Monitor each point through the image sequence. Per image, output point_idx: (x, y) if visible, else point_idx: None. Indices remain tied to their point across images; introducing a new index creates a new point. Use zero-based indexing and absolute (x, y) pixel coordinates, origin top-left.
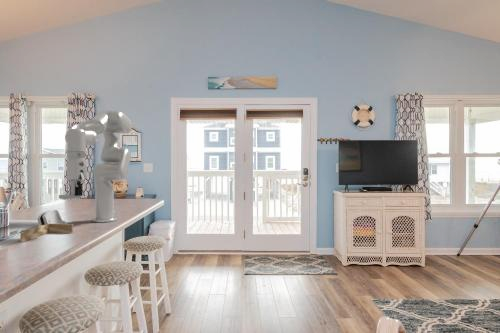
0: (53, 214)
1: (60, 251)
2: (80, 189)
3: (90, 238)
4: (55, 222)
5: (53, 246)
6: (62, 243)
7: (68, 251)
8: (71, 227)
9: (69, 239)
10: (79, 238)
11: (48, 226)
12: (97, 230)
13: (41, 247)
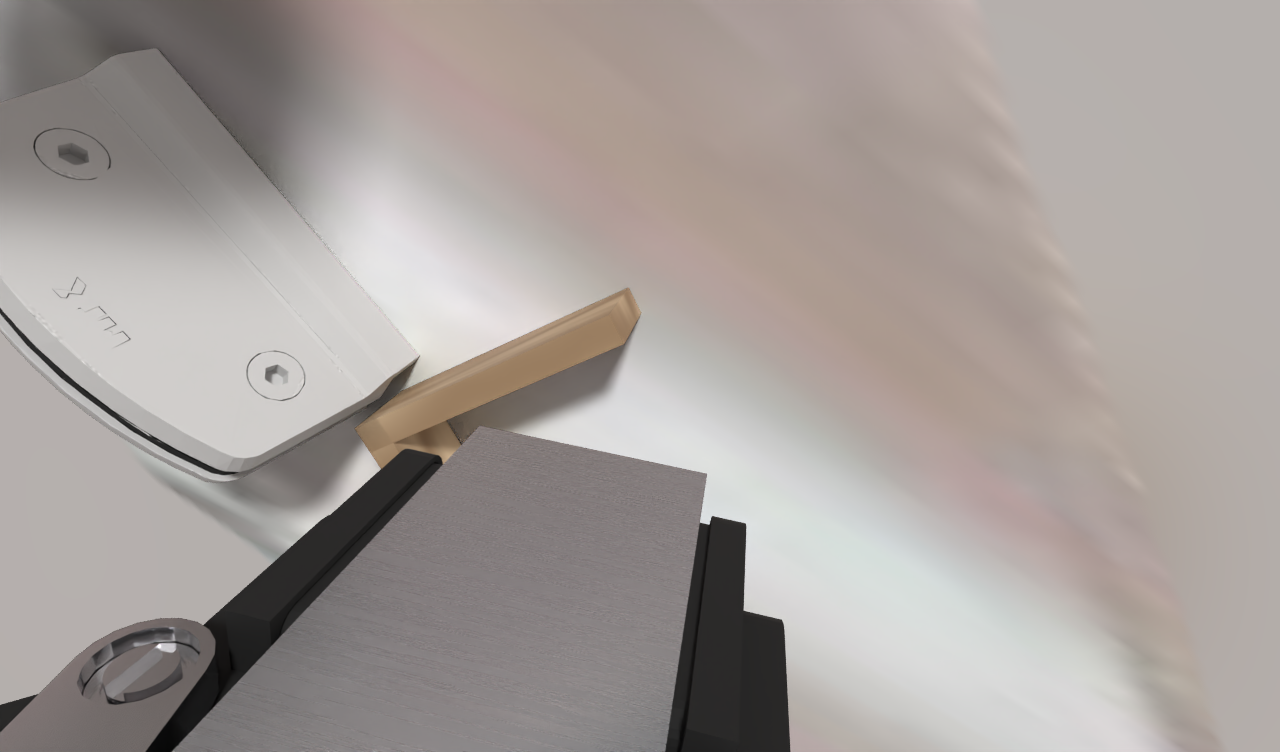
0: (90, 265)
1: (1125, 742)
2: (779, 743)
3: (1033, 375)
4: (218, 251)
5: (940, 675)
6: (926, 597)
7: (1192, 725)
8: (627, 335)
9: (858, 488)
10: (918, 424)
11: (409, 438)
12: (776, 47)
13: (878, 717)
